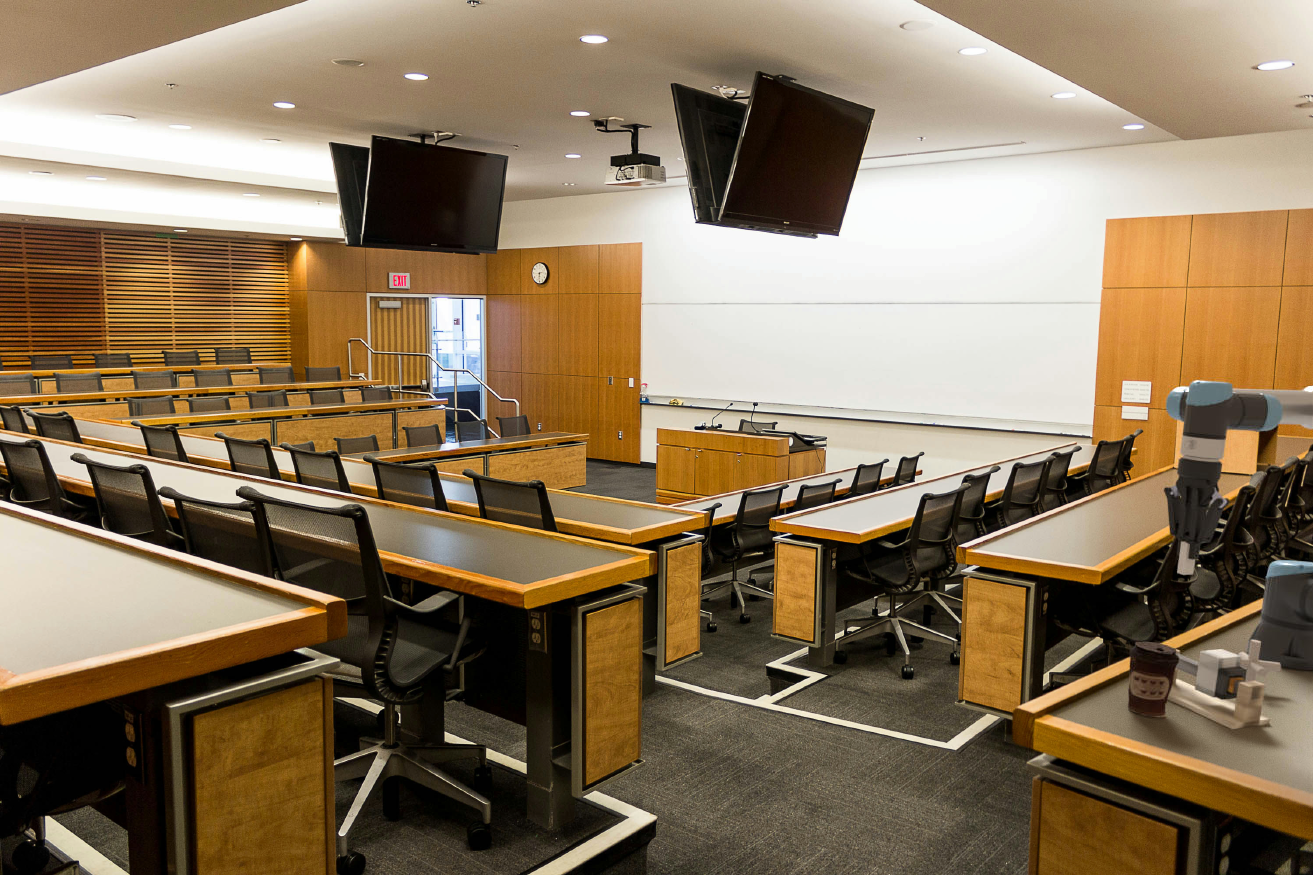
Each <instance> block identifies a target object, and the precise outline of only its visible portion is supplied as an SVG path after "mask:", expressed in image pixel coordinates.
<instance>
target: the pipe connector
mask: <svg viewBox="0 0 1313 875" xmlns="http://www.w3.org/2000/svg"><path fill="white" fill-rule="evenodd" d="M1260 646H1261V642H1260V641H1258V640H1251V642H1250V649H1249V653H1248V654H1247V653H1246V652H1244V651H1241V652H1239V653H1238V654H1237V655H1239V656H1241V662H1240V667H1242V668H1245V669H1247V673H1246V679H1245V681H1247V682H1248V681H1256V677H1257V675H1258V676H1259V677H1261V678H1264V677H1266V676H1268V674H1269V672H1268V671H1273V672H1281V670H1282V666H1281V664H1280V663H1277V662H1269V661H1262V660H1260V659H1259V652H1260Z"/></svg>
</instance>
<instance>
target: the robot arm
mask: <svg viewBox="0 0 1313 875" xmlns="http://www.w3.org/2000/svg"><path fill="white" fill-rule="evenodd" d="M1165 409H1166V413H1167V414H1168V415H1169V417H1170V418H1172V419H1173V420H1177V421H1180V422H1182V423H1183V428H1182V436H1181V443H1180V449H1179V450H1180V451H1179V453H1180V455H1181V456H1182V457H1181V456H1180V457H1179V459H1178V463H1177V464H1178V465H1177V471H1176V473H1177V474H1176V475H1178V478H1177V479H1176V481H1175V484H1173V485H1172V486H1169V487H1168V486H1166V487H1164V489H1163V492H1164V494H1165V497H1166V500H1167V514H1168V528H1169V534H1170V536H1174V537H1175V538H1177V541H1178V542H1177V547H1176V548H1177V549H1176V556H1177V557H1179V558H1178V562H1177V571H1176V572H1177V574H1180V575H1183V576H1187V575H1194V571H1195V564H1196V560H1199V557H1200V550H1201V545H1202V544H1204V543H1211V541H1212V539H1213V537H1214V534H1215V532H1216V530H1217V527H1218V524H1219V522H1220V519H1221V517H1222V514H1223V512H1224V509H1225V508H1226V507H1227V506H1228V505H1229V504H1230V499H1229V498H1227V497H1223V496H1222V495H1221V494H1220V493H1219V492H1220V489H1219V485H1218V483H1219V481H1220V479H1221V476H1222V475H1221V474H1222V468H1223V463H1222V462H1221V460H1222V459H1223V458H1224V456H1225V449H1226V442H1227V441H1226V439H1227V433H1228V431H1246V432H1247V431H1250V432H1255V433H1257V432H1264V431H1265V432H1268V431H1271V430H1273V429H1274V428H1276V427H1277V426H1278V425H1299V426H1300V425H1301V427H1303V428H1305V429H1307V430H1313V385H1312V386H1306V387H1304V388H1302V389H1301V390H1300V389H1298V390H1297V389H1296V390H1295V389H1266V388H1264V389H1259V388H1258V389H1256V388H1255V389H1254V388H1234V387H1233V384H1232V383H1230V382H1224V381H1211V380H1194V381H1193V380H1192V382H1190V384H1189V386H1178V387H1176V388H1174V389H1172V390H1170V392H1169V394H1168V396H1167V397H1166V402H1165ZM1262 597H1263V598H1262V605H1261V612H1260V618H1259V622H1258V624H1257V625H1256V627H1255V629H1254V631H1253V632H1252V634H1251V635H1250V637H1249V639H1248V641H1247V646H1246V652H1247V653H1248V654H1249V649H1250V642H1251V640H1258V641H1260V642H1261V646H1260V652H1259V659H1258V660H1261V661H1269V662H1277V663H1280V664H1281V667H1283V668H1289V669H1293V670H1300V671H1301V670H1302V671H1310V670H1313V562H1311V561H1301V560H1275V561H1272V562H1271V563H1270V564H1269V566H1268V568H1267V574H1266V576H1265V582H1264V591H1263V596H1262Z"/></svg>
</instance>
